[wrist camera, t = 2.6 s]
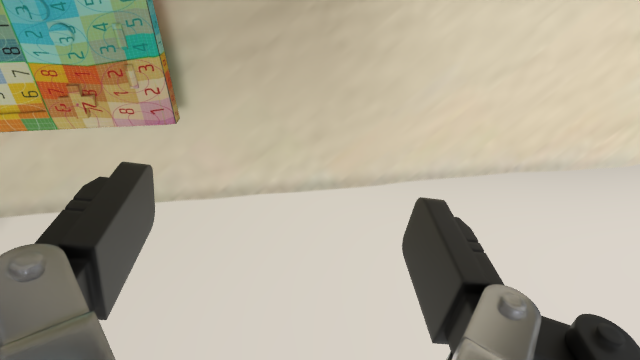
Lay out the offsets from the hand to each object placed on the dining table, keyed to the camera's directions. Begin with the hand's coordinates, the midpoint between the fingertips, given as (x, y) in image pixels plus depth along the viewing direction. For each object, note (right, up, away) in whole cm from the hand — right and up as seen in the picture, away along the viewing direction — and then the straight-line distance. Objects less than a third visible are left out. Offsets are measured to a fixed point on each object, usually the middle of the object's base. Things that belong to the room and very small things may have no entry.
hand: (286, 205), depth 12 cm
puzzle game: (-22, +12, +22) cm, 33 cm away
